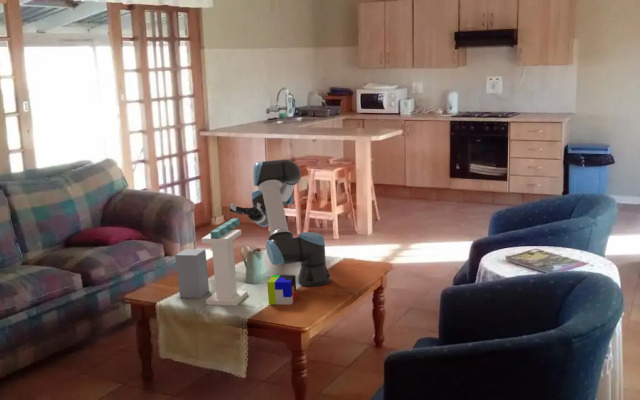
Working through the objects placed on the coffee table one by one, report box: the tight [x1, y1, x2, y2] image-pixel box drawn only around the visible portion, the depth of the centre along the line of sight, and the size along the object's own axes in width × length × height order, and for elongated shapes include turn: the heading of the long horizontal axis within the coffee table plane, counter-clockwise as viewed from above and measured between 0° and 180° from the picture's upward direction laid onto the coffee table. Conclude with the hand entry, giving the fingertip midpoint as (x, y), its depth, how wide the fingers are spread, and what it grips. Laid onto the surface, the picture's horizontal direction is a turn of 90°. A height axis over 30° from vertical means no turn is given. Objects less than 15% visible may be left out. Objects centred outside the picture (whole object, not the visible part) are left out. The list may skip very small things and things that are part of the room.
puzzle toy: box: [266, 274, 297, 305], centre depth 303 cm, size 10×10×10 cm
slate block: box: [175, 248, 210, 299], centre depth 317 cm, size 10×10×20 cm
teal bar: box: [210, 217, 240, 239], centre depth 308 cm, size 26×3×3 cm, turn 165°
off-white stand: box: [201, 229, 249, 306], centre depth 306 cm, size 16×14×30 cm
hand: (244, 205), depth 343 cm, fingers open, 13 cm apart
